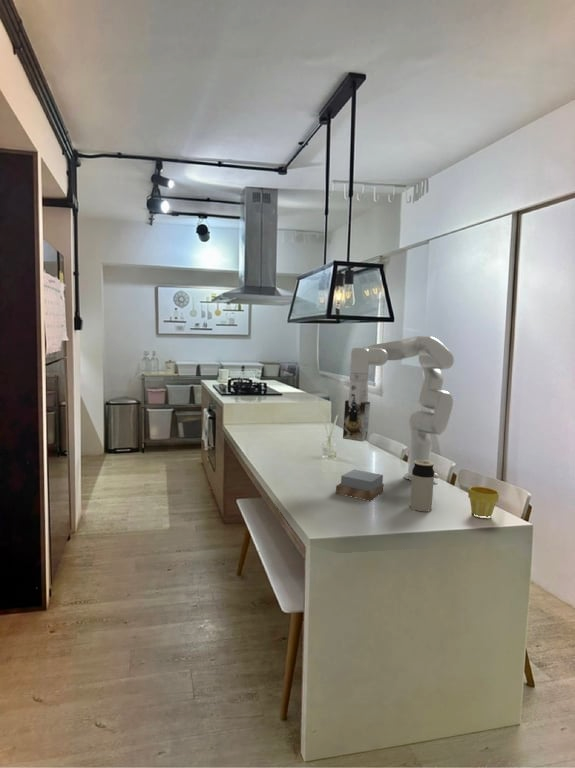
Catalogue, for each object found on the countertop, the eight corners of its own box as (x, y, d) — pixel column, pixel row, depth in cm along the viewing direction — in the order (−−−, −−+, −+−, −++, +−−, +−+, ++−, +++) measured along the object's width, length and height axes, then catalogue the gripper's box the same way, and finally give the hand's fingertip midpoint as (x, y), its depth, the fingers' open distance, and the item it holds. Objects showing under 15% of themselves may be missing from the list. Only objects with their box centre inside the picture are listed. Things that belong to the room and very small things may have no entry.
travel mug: (416, 512, 184) (420, 465, 182) (405, 505, 192) (409, 459, 190) (435, 511, 186) (439, 464, 185) (424, 504, 194) (427, 459, 192)
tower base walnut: (383, 493, 208) (383, 484, 208) (370, 502, 195) (371, 492, 194) (349, 486, 215) (350, 477, 215) (335, 495, 202) (336, 485, 202)
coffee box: (342, 438, 208) (344, 400, 206) (348, 436, 213) (350, 399, 212) (362, 442, 203) (365, 402, 202) (368, 439, 209) (370, 401, 207)
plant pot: (489, 511, 189) (491, 486, 188) (501, 521, 179) (504, 495, 178) (462, 510, 189) (464, 485, 188) (473, 520, 179) (475, 493, 178)
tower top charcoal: (382, 484, 207) (383, 474, 207) (370, 491, 196) (371, 481, 196) (353, 478, 214) (354, 469, 213) (340, 485, 202) (341, 475, 202)
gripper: (359, 379, 197) (356, 424, 198) (375, 377, 211) (372, 418, 213) (341, 377, 200) (339, 421, 202) (358, 376, 215) (356, 416, 217)
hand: (356, 419), depth 207 cm, fingers closed on coffee box, 6 cm apart
